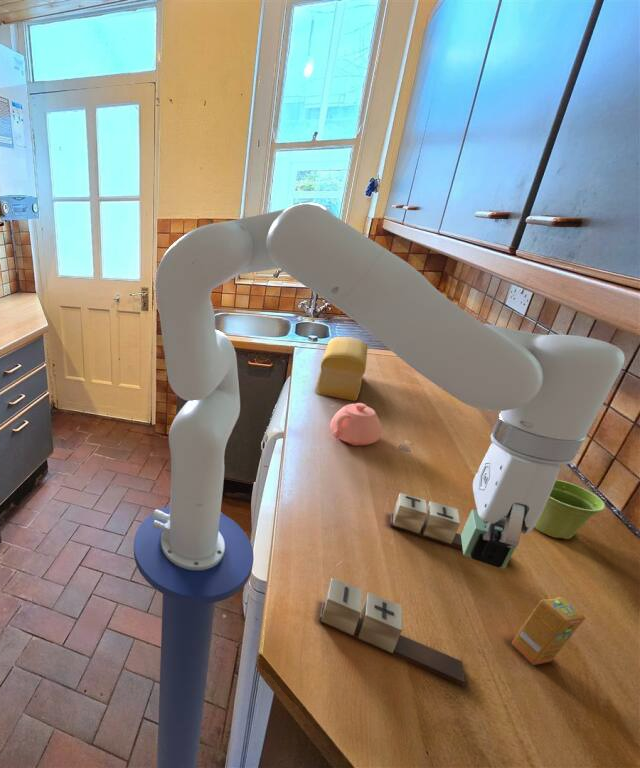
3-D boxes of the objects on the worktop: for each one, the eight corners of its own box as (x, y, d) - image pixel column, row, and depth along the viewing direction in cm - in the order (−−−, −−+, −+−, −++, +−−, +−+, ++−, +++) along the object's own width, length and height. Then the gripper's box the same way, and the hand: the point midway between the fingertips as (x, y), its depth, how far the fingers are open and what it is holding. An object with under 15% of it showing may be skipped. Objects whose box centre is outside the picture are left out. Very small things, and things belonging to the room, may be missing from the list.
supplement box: (534, 668, 57) (566, 620, 52) (510, 643, 60) (537, 597, 56) (554, 663, 57) (587, 616, 53) (529, 640, 60) (558, 593, 56)
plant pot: (527, 505, 86) (544, 472, 83) (589, 533, 79) (611, 497, 75) (511, 523, 82) (528, 489, 78) (576, 554, 74) (598, 518, 71)
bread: (323, 369, 156) (330, 332, 150) (360, 375, 150) (370, 337, 144) (314, 393, 137) (323, 351, 131) (357, 401, 131) (368, 358, 125)
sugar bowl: (388, 443, 109) (399, 410, 104) (350, 455, 104) (359, 421, 99) (350, 422, 119) (357, 391, 115) (313, 432, 114) (320, 400, 110)
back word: (389, 528, 81) (397, 504, 78) (390, 514, 84) (398, 491, 82) (507, 566, 72) (520, 541, 70) (502, 549, 76) (515, 524, 73)
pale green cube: (463, 555, 56) (475, 527, 54) (460, 535, 59) (472, 508, 57) (504, 569, 54) (519, 540, 52) (499, 547, 57) (513, 520, 55)
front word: (318, 624, 63) (325, 597, 60) (322, 602, 66) (329, 576, 64) (463, 691, 54) (478, 662, 52) (459, 661, 57) (474, 633, 55)
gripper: (485, 403, 57) (445, 504, 65) (506, 462, 44) (453, 580, 52) (558, 416, 54) (507, 522, 61) (603, 485, 41) (531, 609, 48)
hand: (483, 548), depth 56 cm, fingers closed on pale green cube, 4 cm apart
